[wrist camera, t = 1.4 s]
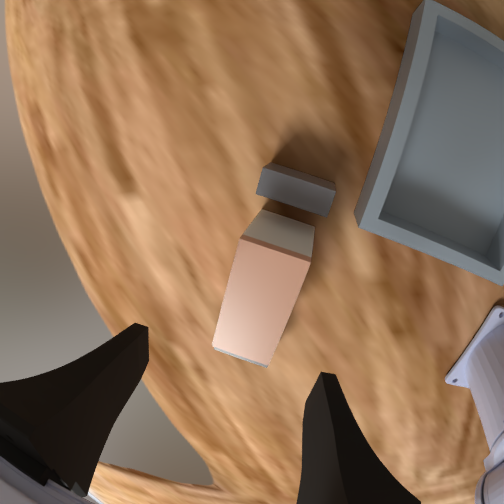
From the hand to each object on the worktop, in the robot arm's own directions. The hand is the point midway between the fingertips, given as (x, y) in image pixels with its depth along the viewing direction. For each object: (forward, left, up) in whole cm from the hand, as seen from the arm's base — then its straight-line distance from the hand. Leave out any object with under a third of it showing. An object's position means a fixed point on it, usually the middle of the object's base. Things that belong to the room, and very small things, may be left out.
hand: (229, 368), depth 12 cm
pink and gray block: (0, 0, -10) cm, 10 cm away
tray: (-9, -12, -10) cm, 18 cm away
